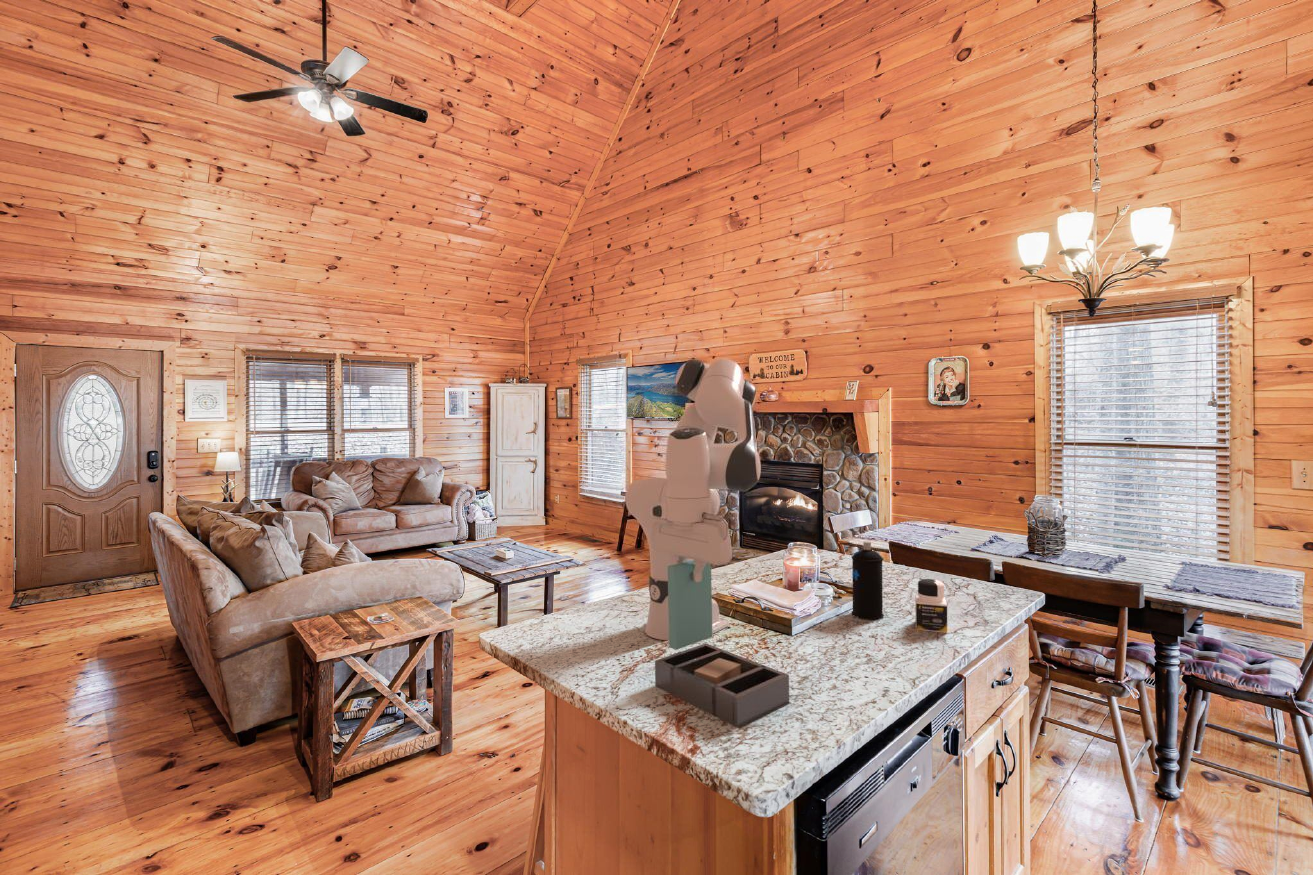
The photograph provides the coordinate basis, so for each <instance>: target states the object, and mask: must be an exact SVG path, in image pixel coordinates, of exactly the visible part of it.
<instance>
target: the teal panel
mask: <svg viewBox="0 0 1313 875" xmlns="http://www.w3.org/2000/svg"><path fill="white" fill-rule="evenodd" d="M695 566H696V565H694V564H693V560H692V561H687V562H683V563H679V564H675V565H670V566H668V614H669V640H668V647H669V648H671V649H673V650H675V651H677V650H680V649H682V648H685V647H688V646H691V645H694V644H697V643H699V642H702V641H704V640H707V639H711V638H713V634H712V599H713V598H712V564H709V563H706V565H705V567H704V569H703V571H702V580H701V581H699V582H694V581H691V579H690V577H691V576H690V572H693V571H694V569H695Z"/></svg>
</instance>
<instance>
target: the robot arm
mask: <svg viewBox="0 0 1313 875" xmlns="http://www.w3.org/2000/svg"><path fill="white" fill-rule="evenodd" d="M674 386H675V390H676V392H677V393H678V394H679V395H681V396H683V397H684V398H688V399H690V400H691V401H692V402H694V403H691V404H690V405H689V406H688V407H687V408H686V409H685V411H684V412H683V414H682V416H680V419H679V420H678V423H677V424H676V427H675V430H673V431H672V432H670V433H669V434H668V437H667V442H666V452H665V453H666V454H665V476H666V478H664V477H647V478H641V479H637V480H633V481H632V482H631V483H630V485H628V487H627V489H626V492H625V496H624V499H625V501H624V502H625V505H626V509H627V511H628V512H629V513H630V515H631V516H632V517H634V518H635V519H636V520H637V522H638V524H639V525H640V526H641V529H642V530H643V532H644V535H645V537H646V540H647V544H648V550H649V561H650V563H649V564H650V567H649V568H650V575H649V576H648V591H649V597H650V598H649V606H648V615H647V620H646V625H645V629H644V633H645V634H646V636H648V637H650V638H653V639H657V640H661V641H662V640H663V641H669V614H668V566H670V565H675V564H679V563H683V562H687V561H692V560H693V564H694V565H696V566H695V569H694V571H693V572H690V576H691V577H690V579H691V581H694V582H699V581H701V580H702V571H703V569H704V567H705V565H706V563H709V564H711V565H714V566H721V565H727V564H730V562H731V560H732V559H733V551H732V550H733V549H732V542H731V540H732V539H731V536H730V530H729V523H728V522H727V521H726V519H725V518H724V517H723V516H722V515H721V514H718V512H719V510H720V507H721V498H720V495H719V491H718V490H730V491H735V492H736V491H737V492H743V493H745V492H746V493H747V492H748V491H749V490H750V489H753V487H755V486H756V484H757V483H758V482H759V481H760V478H761V470H762V467H761V459H760V456H759V452H758V447H757V437H756V427H755V426H756V425H755V417H754V409H753V407H754V404H755V402H756V396H757V389H756V386H755V385H754V384H753V383H751V382H750V381H748V380H747V379H744V373H743V370H742V368H741V367H740V365H739V364H738V363H737V362H736V361H734V360H733V359H729V358H720V359H717V360H715V361H713V362H712V363H711V364H709V363H706V362H703V360H699V359H694V358H691V359H687V360H685V363H683V364H682V365H681V366H680V367H679V368H678V370H677V372H676V375H675V385H674ZM718 428H722V429H727V430H731V431H734V432H736V434H737V441H734V442H730V443H715V439H716V436H717V432H718ZM729 625H730V623H729V621H728V619H726V618H725V617H722V616H720V607H719V605H718V603H717V601H716V600H715V599H714V598H712V635H714V634H715V633H717V632H719V631H721V630H723V629H725V628H727V627H728V626H729Z"/></svg>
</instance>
